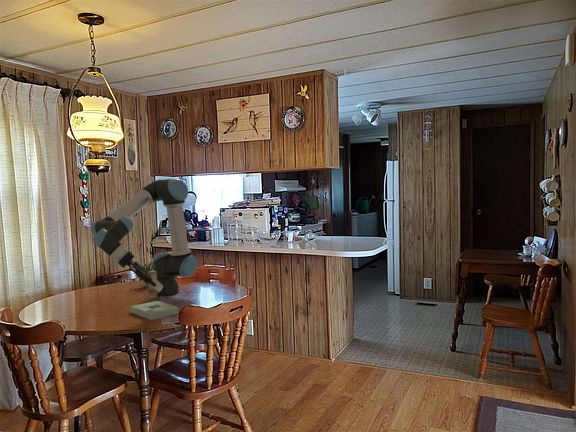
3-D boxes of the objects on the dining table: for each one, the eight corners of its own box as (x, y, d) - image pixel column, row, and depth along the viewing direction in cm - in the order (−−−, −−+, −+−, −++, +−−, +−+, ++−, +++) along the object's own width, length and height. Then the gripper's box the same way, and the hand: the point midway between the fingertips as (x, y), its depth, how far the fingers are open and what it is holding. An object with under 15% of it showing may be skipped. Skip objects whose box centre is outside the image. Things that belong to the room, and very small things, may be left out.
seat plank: (130, 312, 211) (130, 306, 211) (157, 306, 221) (157, 300, 221) (151, 320, 197) (150, 313, 197) (178, 313, 207) (178, 307, 207)
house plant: (159, 282, 285) (158, 257, 284) (165, 285, 273) (164, 259, 272) (136, 285, 278) (135, 259, 277) (141, 288, 266) (140, 261, 265)
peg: (146, 297, 208) (145, 271, 208) (154, 295, 211) (153, 270, 211) (151, 298, 205) (150, 272, 205) (159, 296, 208) (158, 271, 208)
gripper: (119, 259, 212) (156, 291, 217) (114, 265, 196) (154, 299, 200) (130, 248, 213) (167, 280, 218) (126, 252, 197) (166, 286, 201)
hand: (161, 289), depth 209 cm, fingers closed on peg, 4 cm apart
